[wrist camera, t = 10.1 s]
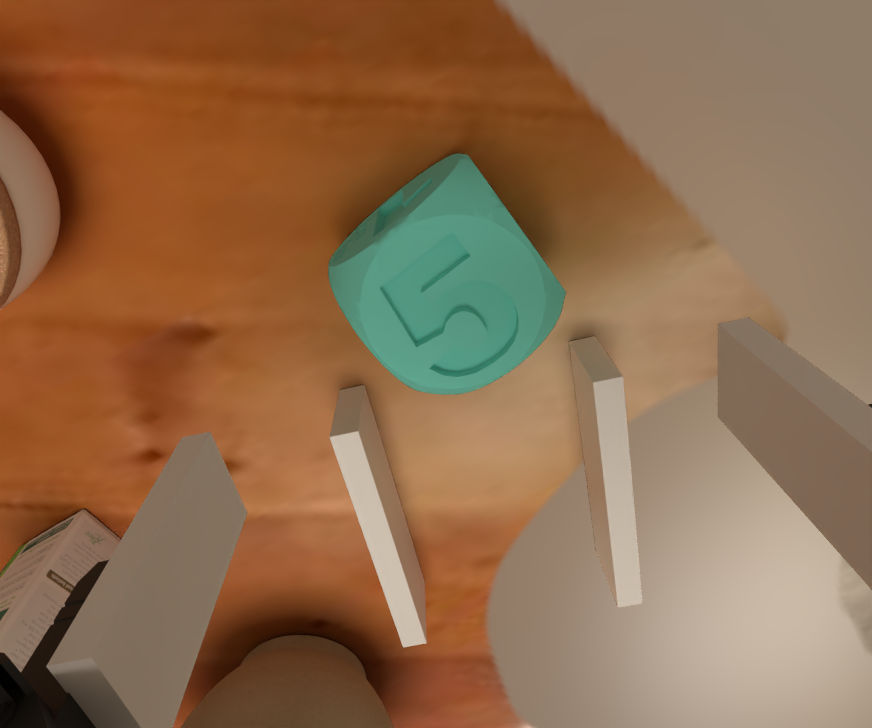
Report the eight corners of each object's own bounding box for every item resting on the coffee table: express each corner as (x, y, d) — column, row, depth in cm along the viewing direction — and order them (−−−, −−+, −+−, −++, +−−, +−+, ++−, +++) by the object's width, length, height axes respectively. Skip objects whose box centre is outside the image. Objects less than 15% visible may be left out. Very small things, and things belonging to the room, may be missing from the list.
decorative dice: (457, 141, 29) (474, 164, 22) (547, 265, 32) (586, 321, 25) (334, 241, 31) (313, 293, 24) (429, 350, 34) (436, 424, 27)
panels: (616, 545, 41) (642, 603, 37) (403, 585, 42) (403, 647, 38) (595, 336, 34) (623, 376, 30) (339, 389, 35) (329, 437, 31)
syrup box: (84, 505, 38) (-85, 733, 25) (151, 563, 40) (29, 799, 27) (20, 544, 39) (-173, 781, 26) (89, 598, 41) (-56, 841, 28)
